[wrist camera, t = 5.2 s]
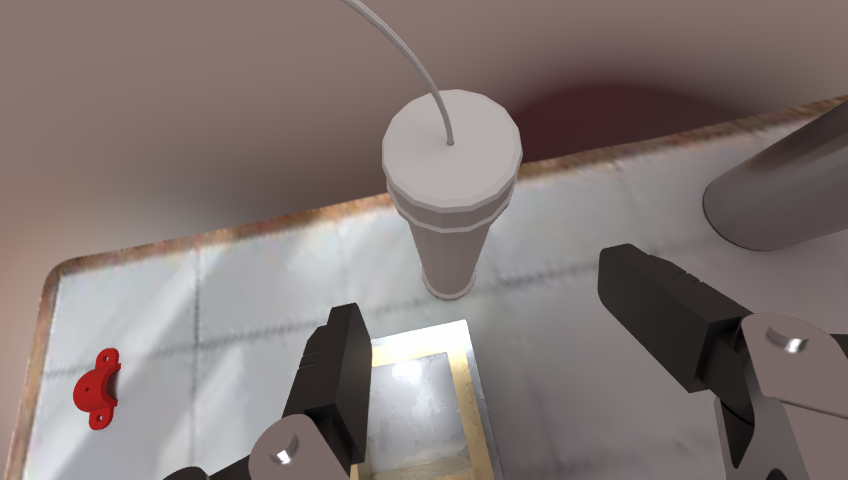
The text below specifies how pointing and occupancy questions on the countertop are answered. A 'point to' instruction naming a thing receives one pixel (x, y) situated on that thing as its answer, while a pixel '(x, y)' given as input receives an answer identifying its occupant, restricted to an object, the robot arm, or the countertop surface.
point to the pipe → (448, 172)
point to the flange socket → (427, 410)
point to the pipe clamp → (97, 390)
